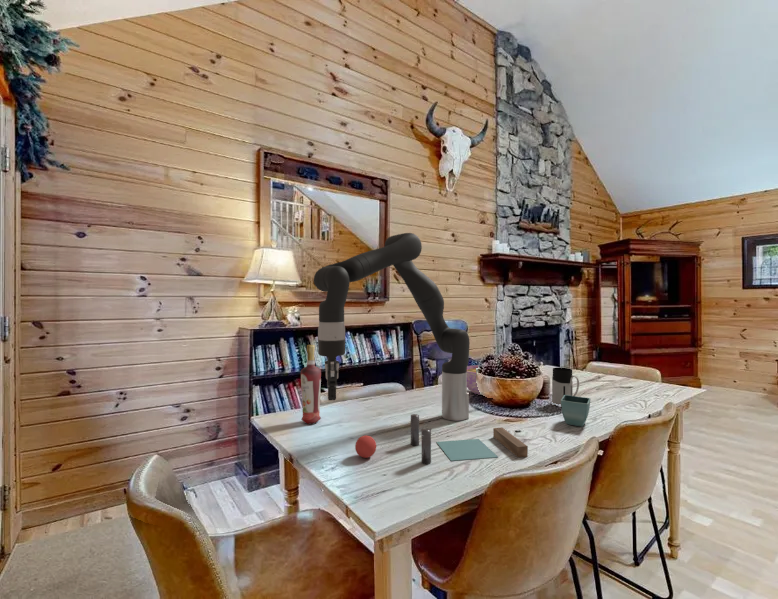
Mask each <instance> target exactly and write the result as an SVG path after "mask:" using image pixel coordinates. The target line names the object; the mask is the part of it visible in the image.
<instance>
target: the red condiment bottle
mask: <svg viewBox="0 0 778 599" xmlns="http://www.w3.org/2000/svg"><path fill="white" fill-rule="evenodd" d="M315 350H316V349H315V344H307V345H306V351H307V358H306V366H305V367H303V368H301V370H300V387H301V403H302V406H301V407H302V417H301V421H302V422H303V423H304V424H306V423H307V425H314V424H313V423H315V424H317V423H318V422H319V421H320V420H321V419H322V418H321V416H320V414H321V412H320V407H321V406H320V405H321V401H320V400H321V384H322V383H321V382H322V378H321V377H322V369H321V368H320V367H318V366H316V361H315ZM316 422H317V423H316Z"/></svg>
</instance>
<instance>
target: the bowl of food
mask: <svg viewBox="0 0 778 599" xmlns="http://www.w3.org/2000/svg"><path fill="white" fill-rule="evenodd" d="M478 366H479V365H468V366H467V389H468V391H470V392H471V393H474V394H475V395H476V394H478V395H480V392H479V390H478V387H477V383H476V368H478ZM478 395H477V396H478Z"/></svg>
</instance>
